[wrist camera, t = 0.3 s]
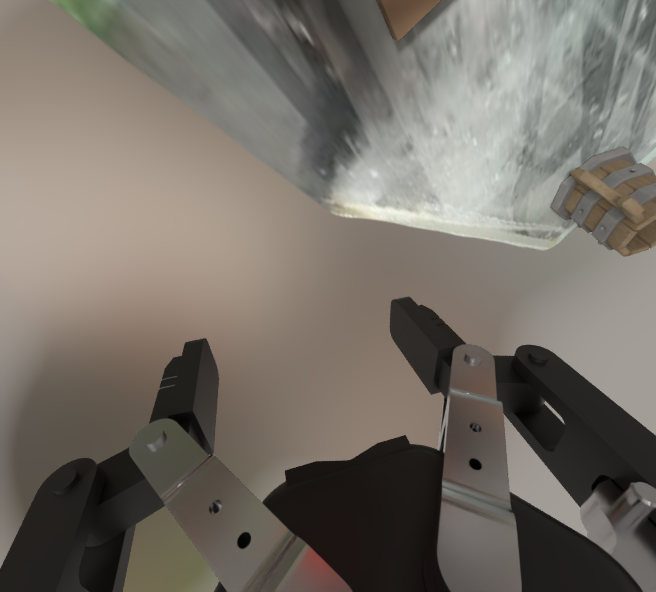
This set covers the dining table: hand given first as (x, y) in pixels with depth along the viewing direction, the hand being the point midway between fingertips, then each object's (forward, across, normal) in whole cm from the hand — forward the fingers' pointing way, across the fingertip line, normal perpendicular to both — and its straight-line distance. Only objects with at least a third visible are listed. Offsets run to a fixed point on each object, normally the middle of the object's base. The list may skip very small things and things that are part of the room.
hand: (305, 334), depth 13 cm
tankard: (+33, -56, +5) cm, 65 cm away
